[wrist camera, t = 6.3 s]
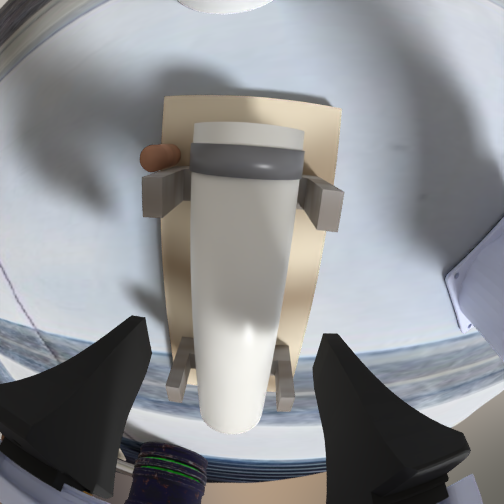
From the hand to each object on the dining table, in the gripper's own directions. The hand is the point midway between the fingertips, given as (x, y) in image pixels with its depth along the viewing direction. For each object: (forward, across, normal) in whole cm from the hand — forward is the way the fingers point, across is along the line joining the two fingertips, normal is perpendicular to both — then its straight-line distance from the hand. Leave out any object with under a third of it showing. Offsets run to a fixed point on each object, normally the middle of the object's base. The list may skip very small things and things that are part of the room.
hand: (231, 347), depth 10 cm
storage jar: (+7, +8, +30) cm, 32 cm away
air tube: (+2, 0, 0) cm, 2 cm away
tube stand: (+7, 0, 0) cm, 7 cm away
